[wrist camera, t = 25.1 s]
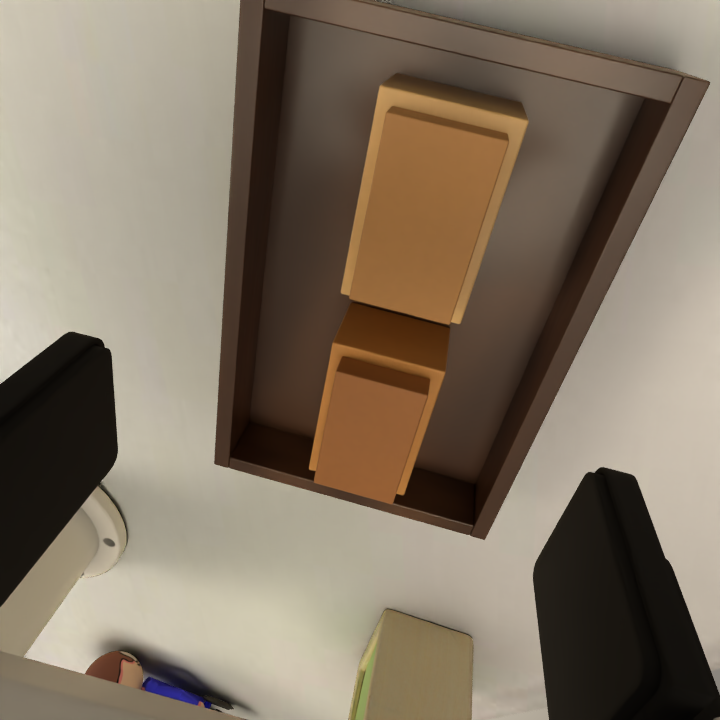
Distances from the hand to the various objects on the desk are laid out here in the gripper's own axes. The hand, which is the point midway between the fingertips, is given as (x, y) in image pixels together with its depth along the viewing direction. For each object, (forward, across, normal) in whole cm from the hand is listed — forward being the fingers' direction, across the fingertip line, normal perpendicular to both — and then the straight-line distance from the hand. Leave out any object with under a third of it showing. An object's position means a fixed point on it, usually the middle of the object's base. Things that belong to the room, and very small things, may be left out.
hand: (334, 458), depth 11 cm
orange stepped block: (+15, -1, +8) cm, 17 cm away
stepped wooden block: (+15, -1, -2) cm, 15 cm away
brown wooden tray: (+16, -1, +3) cm, 16 cm away
